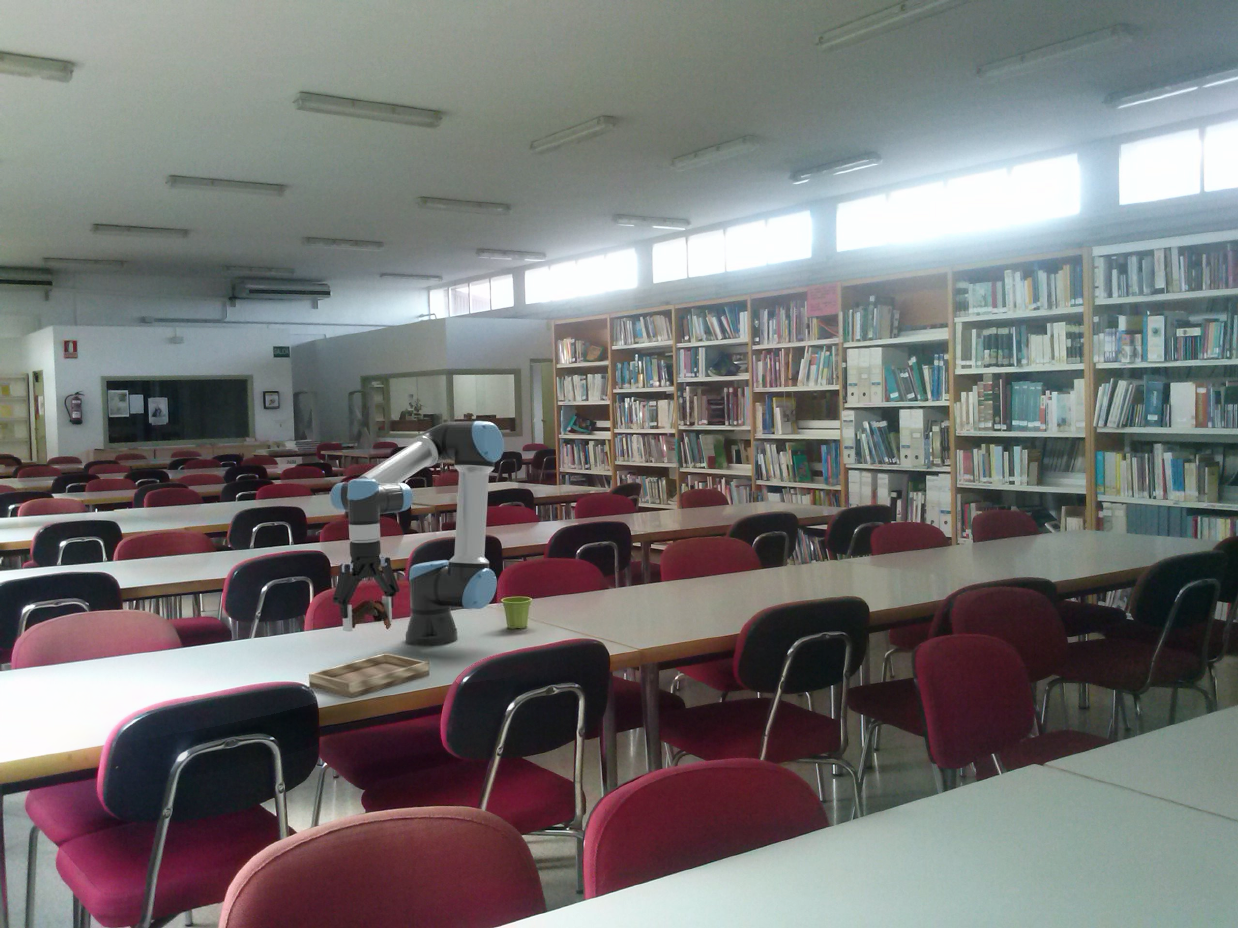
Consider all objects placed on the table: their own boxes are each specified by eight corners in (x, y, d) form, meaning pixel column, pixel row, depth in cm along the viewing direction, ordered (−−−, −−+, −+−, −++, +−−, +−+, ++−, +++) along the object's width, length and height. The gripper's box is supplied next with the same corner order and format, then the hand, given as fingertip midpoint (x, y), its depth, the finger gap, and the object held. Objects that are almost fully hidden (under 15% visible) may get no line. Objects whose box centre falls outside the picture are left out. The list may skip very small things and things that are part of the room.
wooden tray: (386, 664, 263) (386, 653, 263) (429, 674, 253) (428, 662, 253) (309, 686, 244) (308, 673, 244) (352, 697, 234) (351, 684, 234)
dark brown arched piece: (388, 633, 242) (370, 607, 240) (357, 649, 244) (338, 623, 242) (401, 611, 253) (383, 585, 251) (370, 626, 255) (353, 601, 253)
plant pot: (516, 622, 312) (515, 595, 311) (538, 625, 306) (538, 598, 306) (495, 628, 304) (495, 600, 304) (518, 631, 299) (517, 603, 298)
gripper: (392, 533, 258) (395, 615, 259) (315, 545, 239) (318, 633, 241) (411, 535, 254) (414, 619, 255) (333, 547, 235) (337, 637, 236)
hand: (368, 626), depth 248 cm, fingers closed on dark brown arched piece, 11 cm apart
